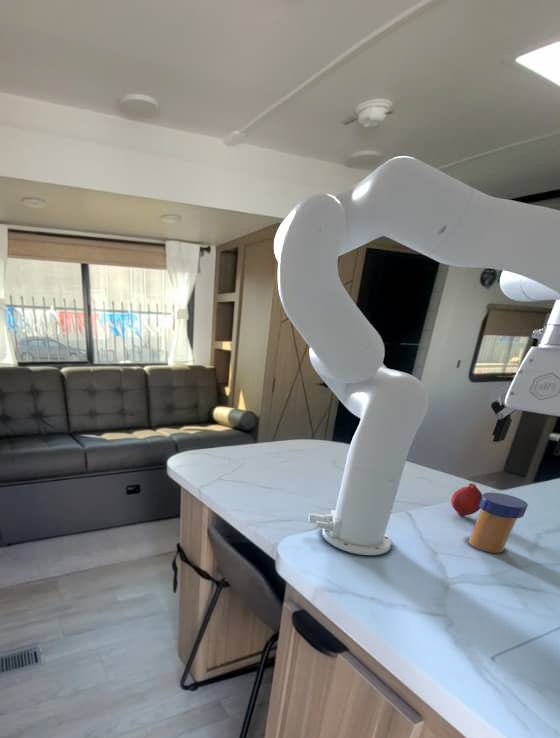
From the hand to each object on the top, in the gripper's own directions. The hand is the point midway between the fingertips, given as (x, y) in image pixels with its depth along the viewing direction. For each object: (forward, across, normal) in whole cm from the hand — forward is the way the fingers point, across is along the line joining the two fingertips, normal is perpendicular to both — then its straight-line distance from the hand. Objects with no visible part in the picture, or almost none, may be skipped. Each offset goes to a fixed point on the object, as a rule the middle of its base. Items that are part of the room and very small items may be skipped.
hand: (527, 446), depth 71 cm
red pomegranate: (+20, -9, +10) cm, 25 cm away
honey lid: (+10, 0, 0) cm, 10 cm away
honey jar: (+20, 0, 0) cm, 20 cm away
